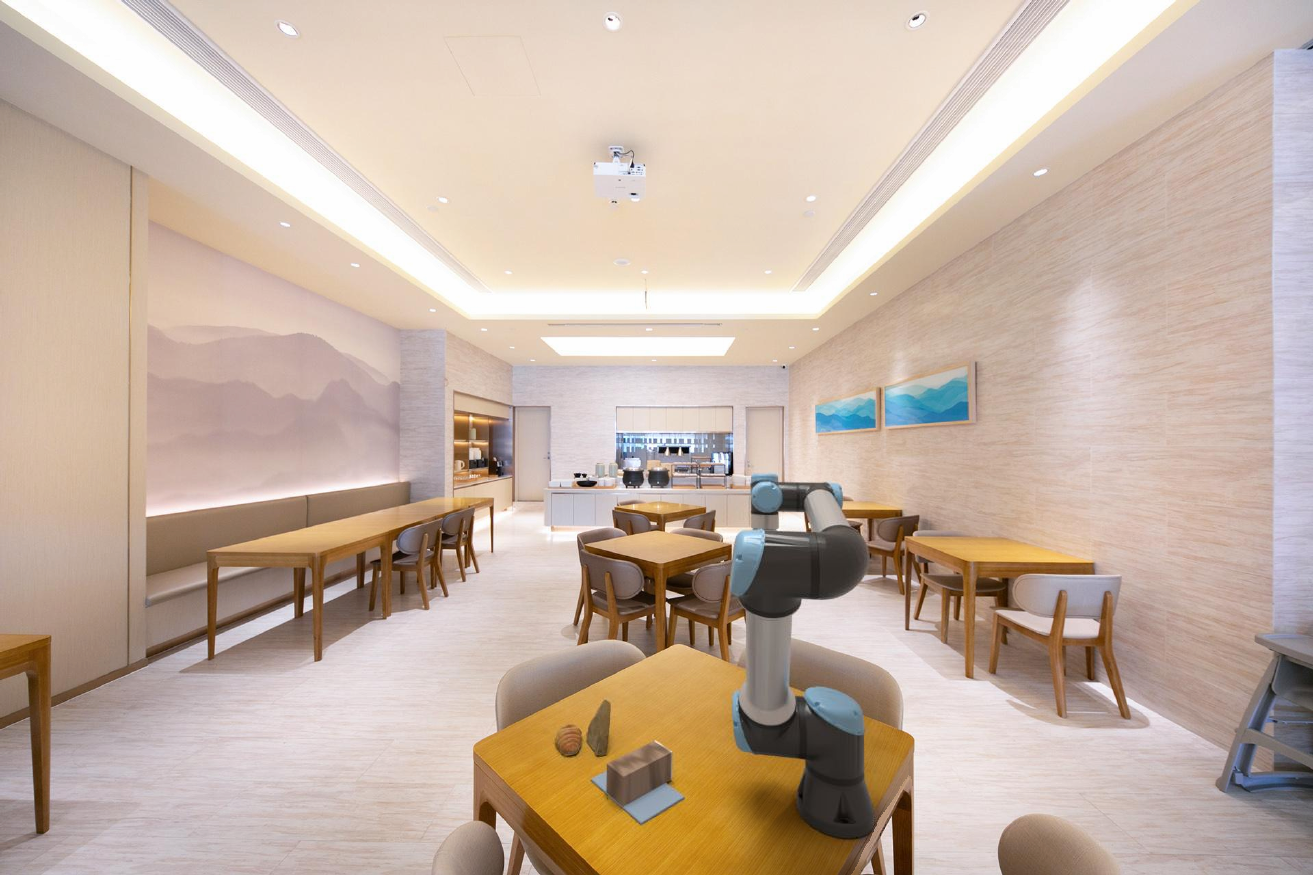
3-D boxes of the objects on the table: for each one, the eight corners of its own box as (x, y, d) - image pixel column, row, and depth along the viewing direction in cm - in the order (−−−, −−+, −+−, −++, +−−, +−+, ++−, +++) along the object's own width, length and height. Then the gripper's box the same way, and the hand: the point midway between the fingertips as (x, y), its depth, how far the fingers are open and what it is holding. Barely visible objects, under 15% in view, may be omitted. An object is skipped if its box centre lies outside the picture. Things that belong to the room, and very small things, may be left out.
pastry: (585, 755, 121) (585, 739, 121) (557, 760, 119) (557, 744, 120) (580, 735, 130) (580, 720, 130) (554, 739, 128) (554, 724, 129)
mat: (684, 798, 106) (684, 796, 106) (641, 824, 98) (641, 822, 98) (632, 759, 119) (632, 758, 119) (590, 780, 111) (590, 778, 111)
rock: (615, 750, 119) (626, 723, 129) (594, 721, 120) (607, 696, 130) (582, 770, 122) (596, 743, 131) (562, 741, 122) (577, 716, 132)
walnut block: (672, 751, 112) (623, 776, 103) (672, 778, 112) (623, 806, 102) (655, 740, 116) (606, 763, 107) (655, 766, 116) (606, 791, 107)
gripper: (767, 526, 142) (767, 609, 141) (738, 529, 134) (738, 618, 133) (789, 529, 137) (790, 615, 136) (761, 533, 128) (761, 625, 127)
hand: (764, 616), depth 134 cm, fingers closed
